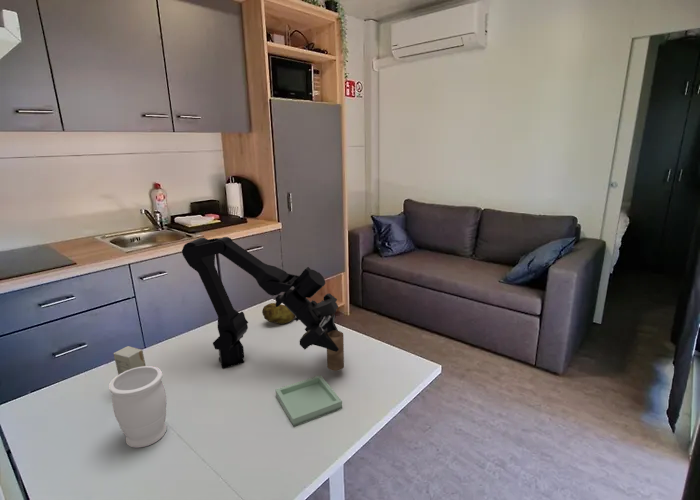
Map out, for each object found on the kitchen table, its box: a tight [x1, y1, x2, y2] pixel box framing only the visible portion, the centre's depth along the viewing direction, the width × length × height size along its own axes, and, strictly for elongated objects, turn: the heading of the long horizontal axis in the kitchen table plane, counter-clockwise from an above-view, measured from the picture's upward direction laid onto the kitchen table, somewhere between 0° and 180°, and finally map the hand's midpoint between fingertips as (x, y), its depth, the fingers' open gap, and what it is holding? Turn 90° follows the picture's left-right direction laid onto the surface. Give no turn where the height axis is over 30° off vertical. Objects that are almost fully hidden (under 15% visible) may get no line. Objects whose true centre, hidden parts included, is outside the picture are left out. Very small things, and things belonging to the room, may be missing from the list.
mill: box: [326, 330, 345, 372], centre depth 109 cm, size 5×5×11 cm
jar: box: [108, 365, 167, 448], centre depth 87 cm, size 11×10×15 cm
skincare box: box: [113, 345, 147, 375], centre depth 103 cm, size 6×4×12 cm
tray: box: [275, 374, 343, 427], centre depth 99 cm, size 13×13×2 cm
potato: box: [261, 302, 296, 325], centre depth 143 cm, size 8×13×8 cm, turn 108°
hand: (339, 345), depth 109 cm, fingers closed on mill, 5 cm apart
